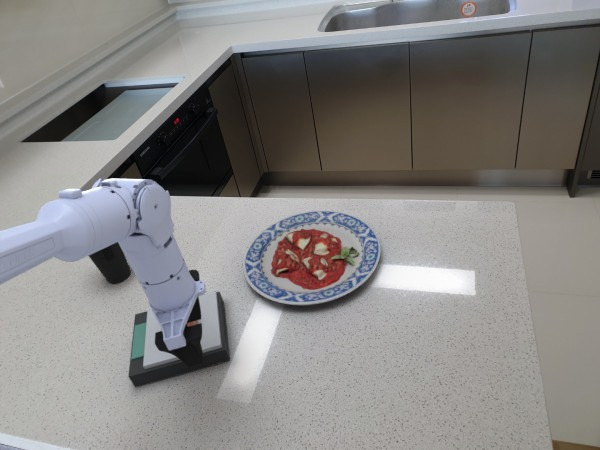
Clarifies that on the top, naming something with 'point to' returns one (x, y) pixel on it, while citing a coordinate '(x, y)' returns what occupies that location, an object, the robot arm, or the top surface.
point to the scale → (162, 365)
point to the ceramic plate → (311, 258)
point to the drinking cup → (112, 263)
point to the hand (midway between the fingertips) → (195, 340)
